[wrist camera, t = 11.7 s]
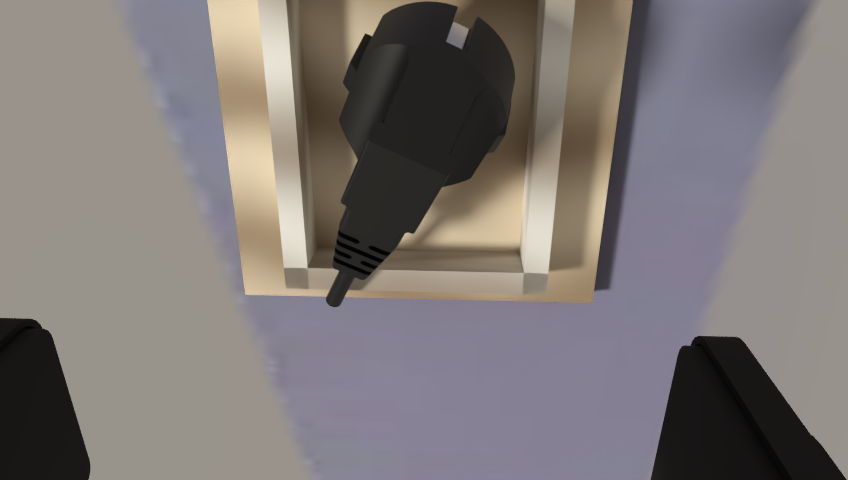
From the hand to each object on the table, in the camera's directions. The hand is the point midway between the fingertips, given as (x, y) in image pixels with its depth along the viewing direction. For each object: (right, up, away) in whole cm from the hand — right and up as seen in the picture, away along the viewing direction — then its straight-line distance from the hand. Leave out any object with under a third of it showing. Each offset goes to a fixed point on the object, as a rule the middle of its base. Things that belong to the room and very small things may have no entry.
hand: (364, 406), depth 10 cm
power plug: (0, +5, +16) cm, 17 cm away
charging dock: (+1, +7, +17) cm, 19 cm away
